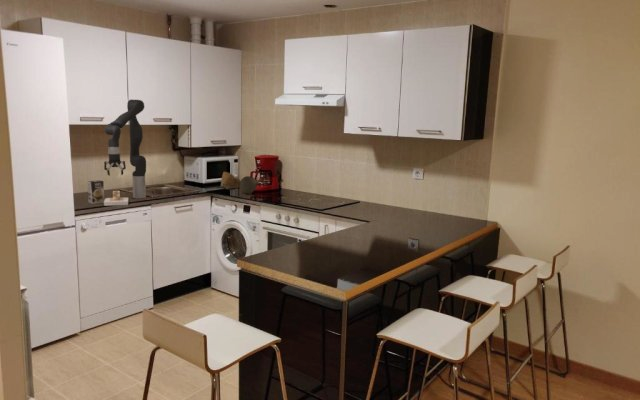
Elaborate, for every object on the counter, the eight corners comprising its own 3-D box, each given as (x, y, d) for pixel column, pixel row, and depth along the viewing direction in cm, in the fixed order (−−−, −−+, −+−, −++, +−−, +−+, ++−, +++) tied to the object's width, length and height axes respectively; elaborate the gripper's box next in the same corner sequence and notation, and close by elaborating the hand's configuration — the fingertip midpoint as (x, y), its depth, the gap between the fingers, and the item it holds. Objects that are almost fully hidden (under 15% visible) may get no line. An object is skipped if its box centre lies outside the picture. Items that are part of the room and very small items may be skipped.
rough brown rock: (241, 191, 431) (242, 174, 429) (222, 189, 426) (223, 172, 424) (237, 187, 453) (239, 171, 451) (219, 186, 448) (221, 170, 446)
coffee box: (92, 204, 351) (91, 182, 348) (88, 202, 354) (87, 181, 351) (104, 202, 358) (103, 180, 355) (100, 201, 362) (99, 179, 359)
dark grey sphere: (248, 195, 405) (249, 178, 402) (236, 193, 412) (236, 176, 410) (259, 193, 417) (259, 176, 414) (247, 191, 424) (247, 174, 421)
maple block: (119, 198, 360) (119, 190, 359) (119, 199, 356) (119, 191, 354) (113, 199, 358) (113, 191, 357) (113, 200, 354) (112, 192, 353)
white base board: (128, 200, 367) (128, 197, 367) (128, 204, 353) (127, 201, 352) (105, 201, 362) (105, 197, 361) (104, 205, 347) (103, 201, 347)
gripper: (124, 152, 356) (126, 174, 359) (103, 152, 351) (105, 174, 354) (124, 153, 349) (126, 175, 352) (103, 153, 344) (104, 176, 347)
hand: (115, 175), depth 353 cm, fingers open, 8 cm apart
